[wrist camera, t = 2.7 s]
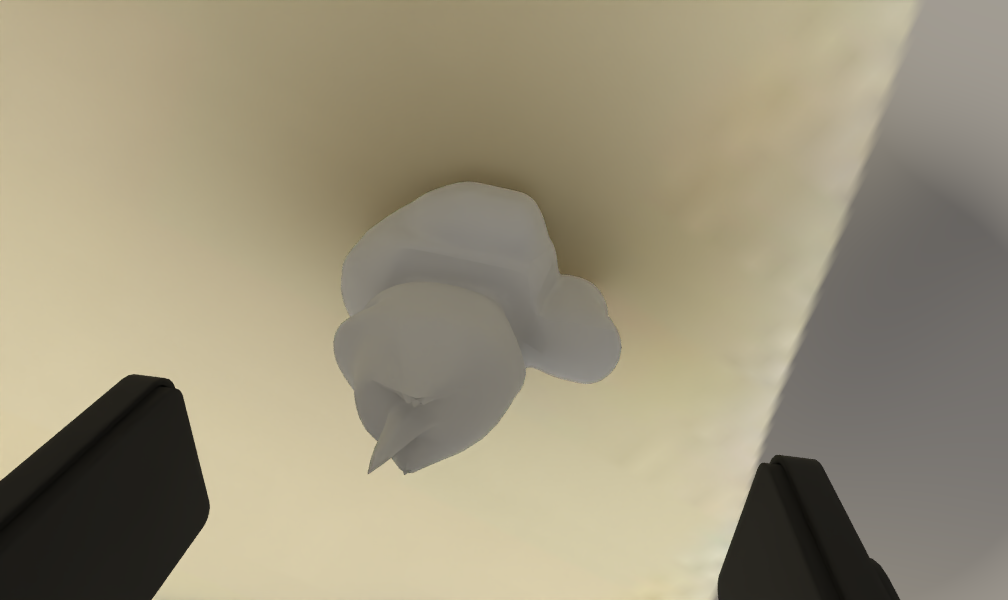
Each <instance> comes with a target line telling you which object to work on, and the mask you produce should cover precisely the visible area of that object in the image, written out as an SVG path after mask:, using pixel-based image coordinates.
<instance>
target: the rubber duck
mask: <svg viewBox="0 0 1008 600" xmlns="http://www.w3.org/2000/svg"><path fill="white" fill-rule="evenodd" d="M341 292H342V297H343V301H344V304H345V307H346V309H347V312H348V314H349V316H350V318H348V319H346V320H345V321H344V322H343V323H341V325H340V326H339V327H338V329H337V331H336V333H335V336H334V342H333V343H334V354H335V358H336V361H337V364H338V366H339V368H340V370H341V372H342V374H343V375H344V377H345V378H346V380H347V381H348V383H349V384H350V386H351V387H352V388H353V390H354V396H355V403H356V408H357V411H358V414H359V418H360V420H361V422H362V423H363V425H364V427H365V429H366V430H367V431H368V432H369V433H370V434H371V435H372V436H373V437H374V438H375V439H376V440H377V444H376V446H375V448H374V451H373V454H372V457H371V460H370V465H369V470H368V474H369V473H371V472H372V471H374V470H375V469H377V468H378V467H379V466H381V465H382V464H384V463H385V462H386V461H388V460H389V459H390V458H392V459H393V461H394V462H395V463H396V465H397V466H398V467H399V469H401V470H402V471H403V473H404V475H405V474H407V473H414V472H416V471H418V470H420V469H422V468H424V467H427V466H429V465H431V464H434V463H436V462H438V461H441V460H443V459H446V458H448V457H451V456H453V455H456V454H458V453H460V452H462V451H464V450H466V449H467V448H469V447H470V446H472V445H473V444H475V443H477V442H478V441H480V440H481V439H482V438H484V437H485V436H486V435H487V434H488V433H489V432H490V431H491V430H492V429H493V428H494V427H495V426H496V425H497V424H498V422H499V421H500V419H501V418H502V417H503V415H504V414H505V412H506V411H507V409H508V408H509V406H510V405H511V403H512V401H513V399H514V398H515V396H516V395H517V394H518V392H519V391H520V390H521V388H522V386H523V384H524V380H525V376H526V368H527V367H533V368H536V369H538V370H540V371H542V372H544V373H547V374H549V375H551V376H554V377H557V378H560V379H564V380H568V381H573V382H577V383H583V384H591V383H595V382H598V381H601V380H602V379H604V378H605V377H606V376H608V375H609V374H610V373H611V372H612V371H613V369H614V368H615V367H616V365H617V363H618V361H619V358H620V353H621V348H622V347H621V338H620V336H619V333H618V330H617V328H616V326H615V325H614V323H613V322H612V320H611V319H610V317H609V316H608V310H607V304H606V301H605V299H604V297H603V295H602V293H601V292H600V291H599V289H598V288H597V287H596V286H595V285H594V284H592V283H591V282H590V281H588V280H586V279H583V278H581V277H577V276H573V275H563V274H560V272H559V268H558V262H557V255H556V250H555V247H554V244H553V243H552V241H551V239H550V237H549V234H548V231H547V227H546V224H545V221H544V218H543V215H542V213H541V211H540V209H539V207H538V205H537V204H536V202H535V201H534V200H533V199H532V198H531V197H530V196H528V195H527V194H525V193H522V192H519V191H515V190H511V189H506V188H501V187H497V186H492V185H488V184H483V183H478V182H459V183H454V184H450V185H446V186H443V187H441V188H438V189H434V190H432V191H430V192H427V193H425V194H424V195H422V196H421V197H419V198H418V199H416V200H415V201H413V202H411V203H409V204H407V205H405V206H404V207H402V208H400V209H398V210H397V211H395V212H394V213H392V214H390V215H389V216H387V217H386V218H384V219H383V220H381V221H380V222H379V223H377V224H376V225H375V226H373V227H372V228H371V229H369V230H368V231H367V232H366V233H365V234H364V235H363V236H362V238H361V239H360V240H359V241H358V242H357V243H356V244H355V246H354V247H353V248H352V249H351V251H350V252H349V253H348V255H347V256H346V258H345V260H344V263H343V267H342V277H341Z"/></svg>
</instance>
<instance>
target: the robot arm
mask: <svg viewBox="0 0 1008 600" xmlns="http://www.w3.org/2000/svg"><path fill="white" fill-rule="evenodd" d="M209 509H210V504H209V499H208V495H207V491H206V487H205V483H204V479H203V475H202V471H201V467H200V463H199V459H198V455H197V451H196V447H195V443H194V439H193V435H192V431H191V427H190V423H189V419H188V415H187V411H186V407H185V403H184V399H183V395H182V393H181V391H180V390H179V389H175V386H174V384H173V383H172V382H171V381H170V380H169V379H166V378H160V377H152V376H144V375H136V374H133V375H128V376H127V377H125V378H123V379H122V380H121V381H119V382H118V383H117V384H116V385H115V386H114V387H112V388H111V389H110V390H109V391H108V392H106V393H105V394H104V395H103V396H102V397H100V398H99V399H98V400H97V401H96V402H94V403H93V404H92V405H91V406H90V407H88V408H87V409H86V410H85V411H84V412H82V413H81V414H80V415H79V416H78V417H76V418H75V419H74V420H73V421H72V422H70V423H69V424H68V425H67V426H66V427H64V428H63V429H62V430H61V431H60V432H58V433H57V434H56V435H55V436H54V437H52V438H51V439H50V440H49V441H48V442H46V443H45V444H44V445H43V446H42V447H40V448H39V449H38V450H37V451H36V452H34V453H33V454H32V455H31V456H30V457H29V458H27V459H26V460H25V461H24V462H23V463H21V464H20V465H19V466H18V467H17V468H15V469H14V470H13V471H12V472H11V473H9V474H8V475H7V476H6V477H5V478H3V479H2V480H1V481H0V600H152V598H153V597H154V596H155V594H156V593H157V591H158V590H159V588H160V587H161V586H162V584H163V583H164V581H165V580H166V579H167V577H168V576H169V574H170V573H171V572H172V570H173V569H174V567H175V566H176V565H177V563H178V562H179V560H180V559H181V558H182V556H183V555H184V553H185V552H186V550H187V549H188V548H189V546H190V545H191V543H192V542H193V541H194V539H195V538H196V536H197V535H198V534H199V532H200V531H201V529H202V528H203V526H204V525H205V523H206V521H207V518H208V515H209ZM718 599H719V600H900V599H899V597H898V595H897V593H896V591H895V589H894V587H893V586H892V584H891V582H890V580H889V578H888V576H887V575H886V573H885V572H884V570H883V569H882V567H881V566H880V565H879V564H878V563H877V562H876V561H874V560H873V559H871V558H869V556H868V554H867V552H866V550H865V548H864V546H863V544H862V542H861V541H860V538H859V536H858V534H857V533H856V531H855V529H854V527H853V525H852V523H851V521H850V519H849V517H848V515H847V513H846V511H845V509H844V507H843V505H842V503H841V502H840V500H839V498H838V496H837V494H836V492H835V490H834V488H833V486H832V484H831V482H830V480H829V478H828V476H827V474H826V473H825V471H824V469H823V467H822V465H821V464H820V463H819V462H818V461H817V460H815V459H806V458H799V457H791V456H783V455H775V456H774V457H773V458H772V460H771V462H770V464H769V463H761V464H760V465H759V467H758V469H757V472H756V475H755V478H754V480H753V483H752V486H751V489H750V491H749V494H748V497H747V500H746V502H745V505H744V508H743V511H742V514H741V516H740V519H739V522H738V525H737V527H736V530H735V533H734V536H733V538H732V541H731V544H730V547H729V549H728V552H727V555H726V558H725V561H724V563H723V566H722V569H721V572H720V574H719V578H718Z"/></svg>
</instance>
